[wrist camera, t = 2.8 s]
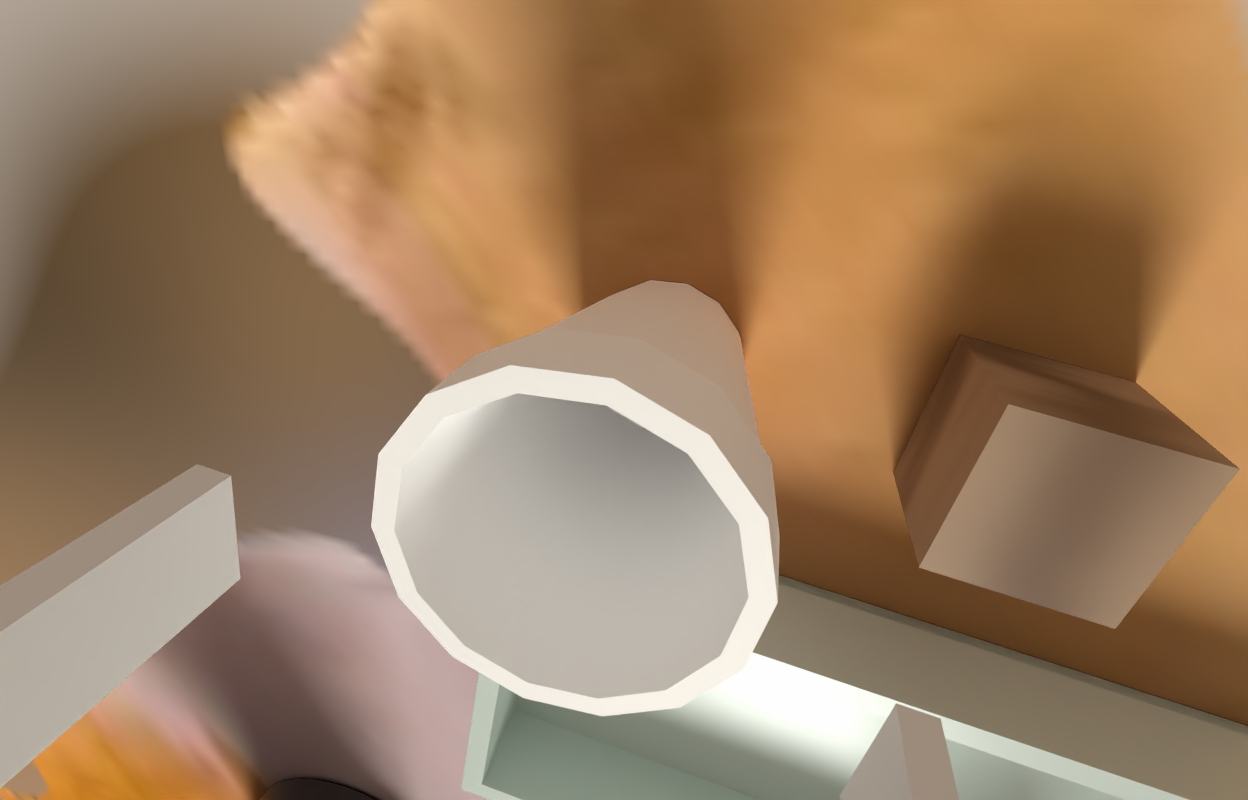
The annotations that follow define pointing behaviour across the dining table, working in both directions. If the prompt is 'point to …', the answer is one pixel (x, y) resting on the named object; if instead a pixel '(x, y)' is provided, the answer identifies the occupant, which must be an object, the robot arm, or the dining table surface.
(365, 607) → the dining table surface
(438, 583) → the foam cup
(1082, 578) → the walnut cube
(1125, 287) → the dining table surface
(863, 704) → the tote
